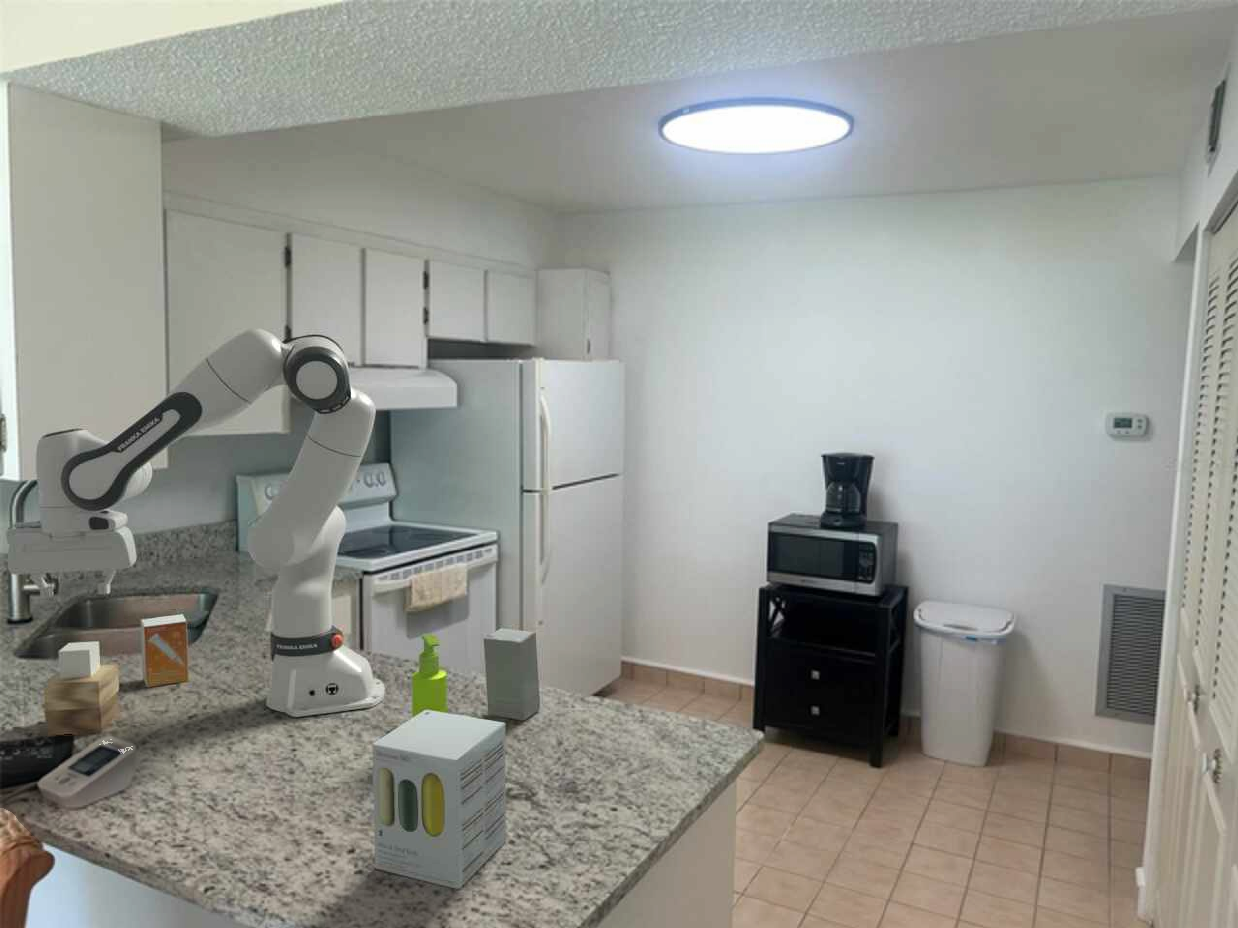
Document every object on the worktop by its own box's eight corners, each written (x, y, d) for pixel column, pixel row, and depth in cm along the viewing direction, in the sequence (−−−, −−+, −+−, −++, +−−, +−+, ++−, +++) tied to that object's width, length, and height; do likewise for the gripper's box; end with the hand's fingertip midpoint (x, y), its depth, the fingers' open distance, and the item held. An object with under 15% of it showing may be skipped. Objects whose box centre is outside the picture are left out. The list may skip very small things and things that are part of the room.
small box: (146, 688, 183) (143, 626, 181) (143, 679, 188) (139, 618, 187) (189, 681, 187) (187, 620, 186) (185, 672, 193) (182, 613, 191)
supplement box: (371, 869, 119) (368, 743, 117) (427, 822, 131) (425, 707, 129) (459, 891, 114) (457, 760, 112) (508, 840, 126) (507, 721, 124)
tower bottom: (119, 714, 170) (117, 689, 169) (101, 733, 161) (100, 707, 161) (66, 717, 168) (65, 692, 168) (46, 737, 159) (44, 710, 159)
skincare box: (540, 710, 173) (540, 630, 171) (521, 723, 167) (521, 641, 165) (503, 703, 177) (502, 625, 175) (483, 716, 170) (482, 635, 168)
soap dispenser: (419, 758, 152) (417, 644, 149) (409, 743, 158) (407, 632, 156) (453, 751, 154) (452, 639, 152) (441, 736, 161) (440, 628, 158)
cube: (100, 667, 167) (98, 641, 166) (90, 676, 162) (89, 649, 161) (70, 669, 166) (68, 642, 165) (60, 678, 161) (58, 651, 160)
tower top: (119, 689, 169) (117, 664, 169) (100, 707, 160) (98, 680, 160) (67, 692, 168) (65, 666, 167) (45, 710, 159) (43, 683, 158)
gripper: (-4, 525, 156) (3, 603, 157) (124, 520, 159) (130, 596, 161) (13, 519, 162) (20, 594, 163) (136, 514, 165) (141, 587, 167)
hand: (76, 595), depth 162 cm, fingers open, 8 cm apart
